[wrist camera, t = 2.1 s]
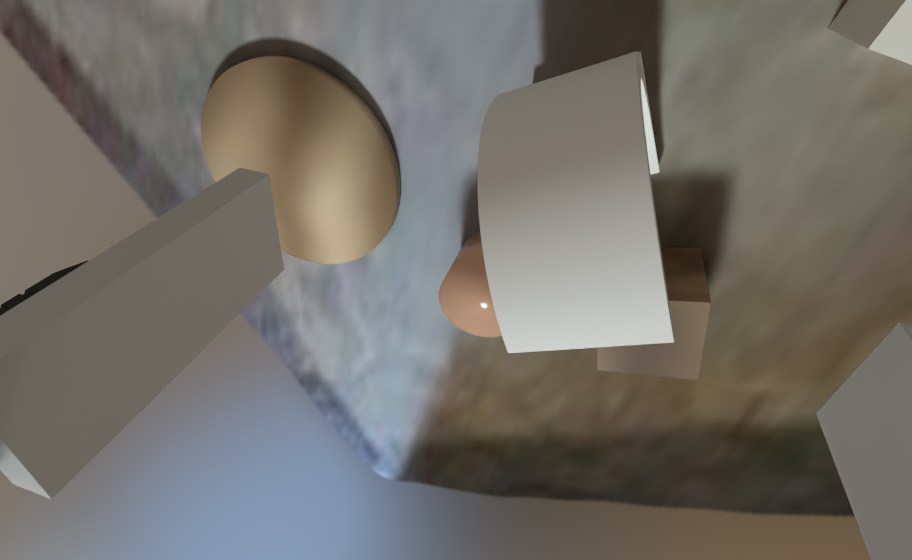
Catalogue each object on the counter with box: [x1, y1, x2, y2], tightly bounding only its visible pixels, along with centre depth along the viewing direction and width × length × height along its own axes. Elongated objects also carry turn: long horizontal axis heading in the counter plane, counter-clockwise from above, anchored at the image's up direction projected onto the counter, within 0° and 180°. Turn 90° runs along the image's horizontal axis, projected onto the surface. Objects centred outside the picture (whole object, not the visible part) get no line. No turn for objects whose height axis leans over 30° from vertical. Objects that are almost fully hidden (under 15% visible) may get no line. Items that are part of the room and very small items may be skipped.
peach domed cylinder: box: [439, 230, 502, 337], centre depth 26 cm, size 4×4×4 cm
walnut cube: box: [597, 247, 711, 380], centre depth 24 cm, size 4×4×4 cm
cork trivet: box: [201, 55, 401, 264], centre depth 27 cm, size 12×12×1 cm
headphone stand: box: [477, 51, 674, 353], centre depth 17 cm, size 5×6×12 cm
